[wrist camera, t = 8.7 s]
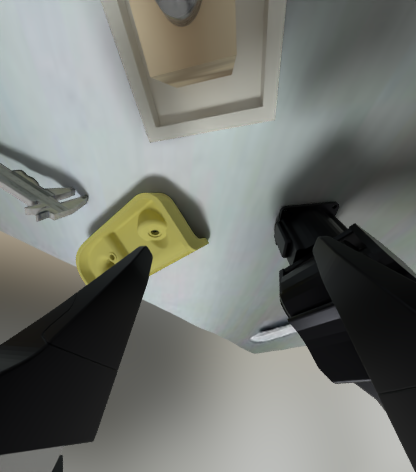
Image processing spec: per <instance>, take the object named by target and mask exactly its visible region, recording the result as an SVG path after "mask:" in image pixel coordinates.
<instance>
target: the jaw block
mask: <svg viewBox="0 0 416 472" xmlns="http://www.w3.org/2000/svg"><path fill="white" fill-rule="evenodd" d="M129 3H130V7H131V10H132V14H133V17H134V21H135V24H136V28H137V32H138V35H139V39H140V42H141V46H142V49H143V53H144V57H145V60H146V64H147V67H148V71H149V74H150V77H151V78H153V79H156V80H158V81H161V82H163V83H166V84H168V85H171V86H173V87H176V88H179V87H183V86H187V85H191V84H195V83H199V82H204V81H208V80H212V79H216V78H220V77H224V76H229V75H232V71H233V67H234V64H235V60H236V56H237V48H236V10H235V0H129Z"/></svg>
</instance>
